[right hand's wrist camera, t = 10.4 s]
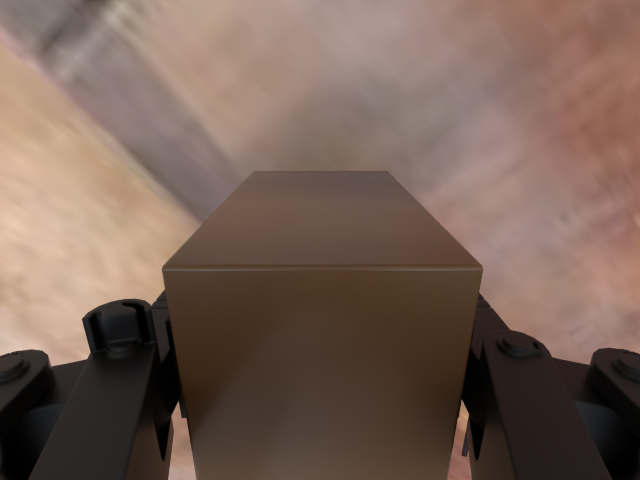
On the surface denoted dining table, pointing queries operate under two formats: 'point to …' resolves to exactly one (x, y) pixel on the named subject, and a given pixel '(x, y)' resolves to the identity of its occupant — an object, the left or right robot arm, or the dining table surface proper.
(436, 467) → the bar
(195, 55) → the dining table surface
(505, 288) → the dining table surface
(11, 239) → the dining table surface
